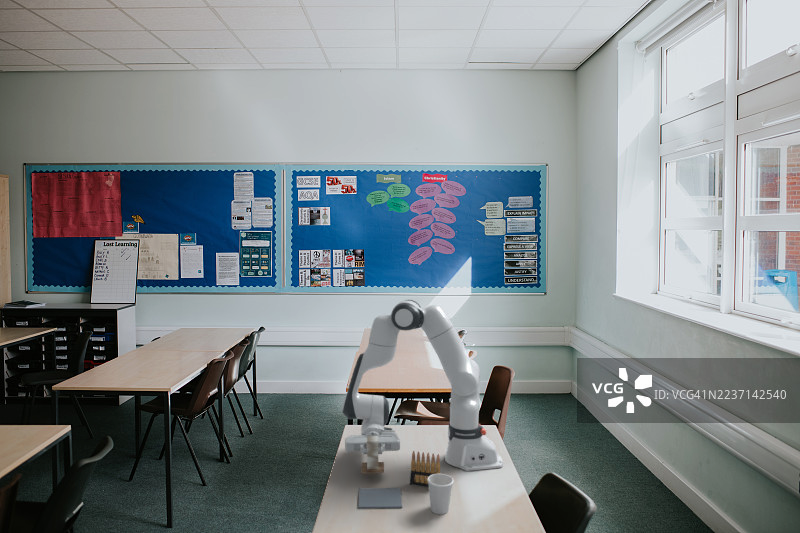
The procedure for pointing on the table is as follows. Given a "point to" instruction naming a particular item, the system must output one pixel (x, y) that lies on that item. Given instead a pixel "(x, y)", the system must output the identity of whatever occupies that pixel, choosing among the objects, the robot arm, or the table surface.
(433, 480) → the dixie cup
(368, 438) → the pale pillar on plinth
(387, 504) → the slate mat
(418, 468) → the ammunition clip
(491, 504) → the table surface
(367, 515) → the table surface
